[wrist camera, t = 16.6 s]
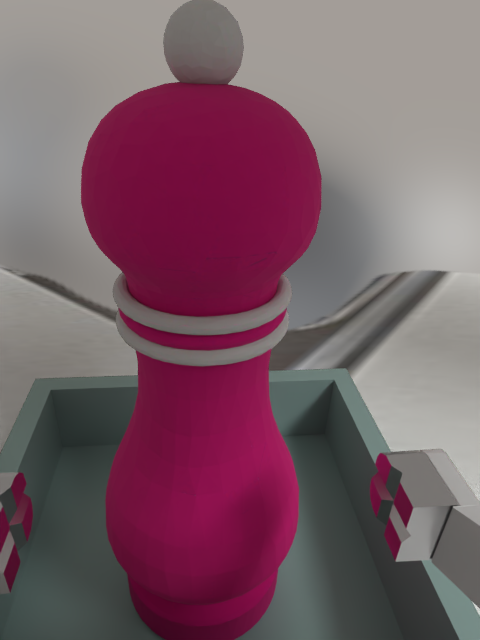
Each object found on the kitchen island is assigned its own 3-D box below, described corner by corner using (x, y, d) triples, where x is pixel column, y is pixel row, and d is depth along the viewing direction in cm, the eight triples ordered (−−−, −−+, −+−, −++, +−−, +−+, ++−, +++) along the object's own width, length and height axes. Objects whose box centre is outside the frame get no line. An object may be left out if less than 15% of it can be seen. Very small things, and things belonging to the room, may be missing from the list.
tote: (333, 433, 28) (346, 368, 26) (497, 834, 14) (561, 769, 11) (51, 448, 26) (35, 378, 24) (-117, 932, 12) (-202, 880, 9)
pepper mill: (163, 715, 15) (90, -63, 5) (92, 544, 20) (-13, -6, 10) (324, 594, 19) (456, 4, 9) (228, 476, 24) (246, 22, 14)
